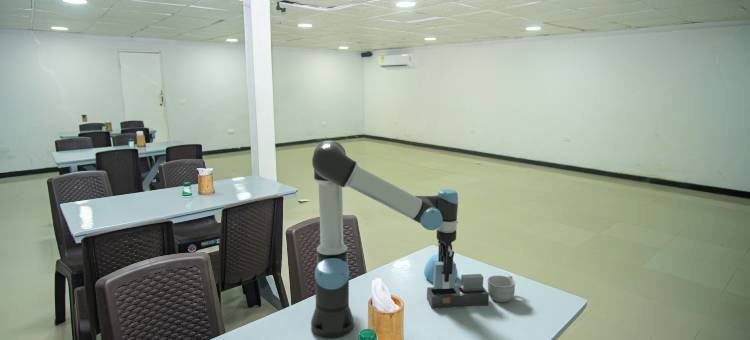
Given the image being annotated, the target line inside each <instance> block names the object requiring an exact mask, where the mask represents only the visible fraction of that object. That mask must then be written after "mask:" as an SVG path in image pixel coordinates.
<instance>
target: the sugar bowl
mask: <svg viewBox="0 0 750 340" xmlns="http://www.w3.org/2000/svg"><path fill="white" fill-rule="evenodd" d="M434 262H438V254H433V255H432V256H431V257H429V259H428V260H427V262H426V264H425V266H424V271H423V274H424V276H425V278H426V279H427V280H428V281H429V282H431V283H433V272H434ZM458 275H459V274H458V268H457V267H456V273H455V280H457V278H458Z"/></svg>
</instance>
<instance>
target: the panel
mask: <svg viewBox="0 0 750 340" xmlns="http://www.w3.org/2000/svg"><path fill="white" fill-rule="evenodd" d="M456 268H457V263H456V262H455V261H454V260H453V267H452V274H450V282H449V288H455V286H456V279H455V273H456ZM442 272H444V261H443V262H434V272H433V282H432V286H433V287H434V288H435V289H442V275H443V274H442Z"/></svg>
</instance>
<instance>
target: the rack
mask: <svg viewBox="0 0 750 340" xmlns="http://www.w3.org/2000/svg"><path fill="white" fill-rule="evenodd" d="M460 280H461V281H460V285H455V288H449V289H435V288H434V286H433V287H431V286H429V287H427V288H426V291H427V292H426V300H427V302H428V305H429V306H430V308H431V309H446V308H447V309H448V308H467V307H483V306H489V299H490V295H489V293H488V290H487V289H486V288H485V287H484V276H483V275H482V274H481V273H471V274H469V273H468V274H461V279H460Z"/></svg>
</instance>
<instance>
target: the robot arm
mask: <svg viewBox="0 0 750 340" xmlns="http://www.w3.org/2000/svg"><path fill="white" fill-rule="evenodd" d="M311 165H312V168H313V173H314V174H313V178H314V180H315V181H316V182H317V183H318V203H319V204H318V205H319V206H318V207H319V210H318V211H319V236H320V237H319V240H320V241H319V242H320V244H319V245H318V246H317V247H316V267H315V270H314V279H315V281H314V282H315V283H314V284H315V286H314V287H315V308H314V310H313V315H312V317H311V321H310V329H311V332H312V333H313V334H315V335H316V336H318V337H320V338H324V339H336V338H338V339H339V338H341V337H345V336H346V334H347V335H349V332H350V331H351V330H352V331H353V329H354V325H355V323H354V321H355V320H354V316H353V314H352V311H351V307H350V303H349V302H350V298H349V297H350V291H349V289H350V288H349V287H350V282H349V281H350V279H349V278H350V269H349V259H348V256H349V255H348V246H347V244H345V243H344V215H343V212H344V211H343V210H344V209H343V205H344V204H343V188H347V187H348V188H350V189H352V190H354V191H357V192H358V193H360V194H362V195H364V196H366V197H368V198H370V199H372V200H373V201H376V202H378V203H380V204H382V205H383V206H385V207H387V208H389V209H392V210H394V211H395V212H398V213H400V214H401V215H403V216H406V217H408V218H409V219H411V220H413V221H415V222H417V223H418V224H420V225H421V226H422V227H423V228H424V229H426V230H428V231H436V239H437V242H438V262H443V261H444V272H442V274H443V275H442V289H449V282H450V274H452V267H453V261H454V255H455V252H454V251H453V244H452V243H453V242H455V241H456V240H457V226H458V225H457V224H458V223H459V221H458V208H459V207H458V206H459V194H458V192H457V191H456V190H454V189H446V188H445V189H440V190H438V192H437V195H413V194H411V193H409V192H408V191H406V190H404V189H401V188H400V187H398V186H396V185H394V184H392V183H390V182H389V181H386V180H385V179H384V178H381V177H379V176H377V175H376V174H374V173H371V172H370V171H367V170H365V169H364V168H363V167H361V166H359V165H358V162H357V161H355V160H354V159H351V158H350V157H349V156H348V155H347V152H346V150H345V148H344V147H343V145H342V144H341V143H339V142H337V141H336V140H335V141H334V140H325V141H323V142H321V143H319V144H318V145H317V146H316V147H315V149H314V151H313V155H312V159H311ZM352 331H351V332H352ZM351 332H350V333H351ZM344 335H345V336H344Z"/></svg>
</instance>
